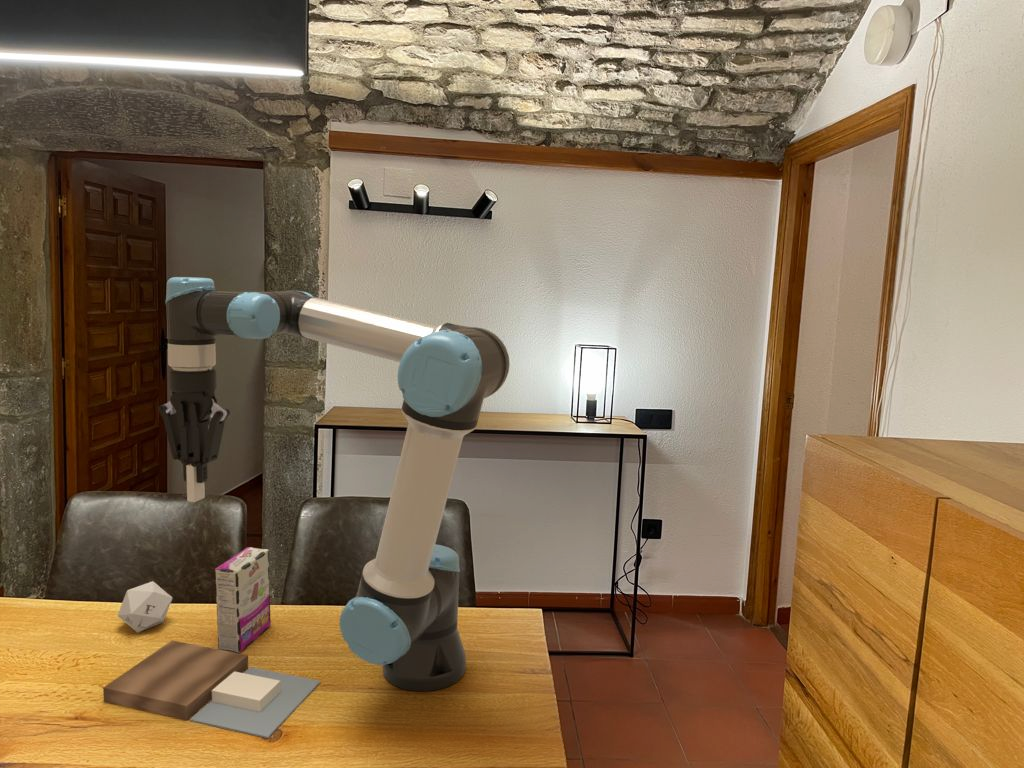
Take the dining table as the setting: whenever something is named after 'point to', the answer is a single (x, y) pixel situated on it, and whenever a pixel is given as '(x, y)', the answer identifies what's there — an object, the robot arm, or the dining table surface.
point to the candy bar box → (242, 599)
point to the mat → (269, 716)
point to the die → (144, 606)
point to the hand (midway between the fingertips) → (196, 499)
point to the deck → (174, 679)
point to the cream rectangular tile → (246, 691)
